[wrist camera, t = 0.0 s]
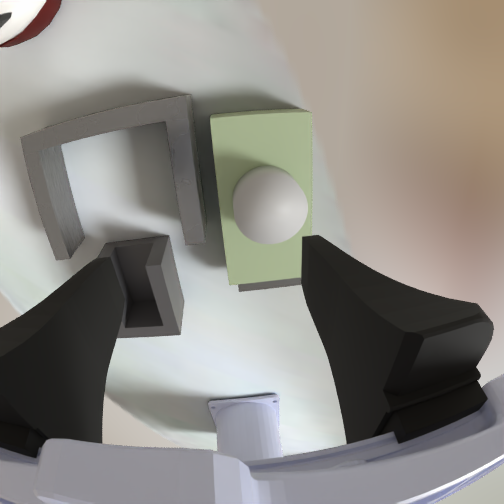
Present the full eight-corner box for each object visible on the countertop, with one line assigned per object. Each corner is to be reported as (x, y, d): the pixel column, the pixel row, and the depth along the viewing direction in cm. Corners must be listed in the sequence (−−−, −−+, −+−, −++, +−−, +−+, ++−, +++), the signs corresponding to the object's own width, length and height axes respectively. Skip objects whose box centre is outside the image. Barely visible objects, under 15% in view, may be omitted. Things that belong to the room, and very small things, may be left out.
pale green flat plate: (302, 266, 24) (316, 303, 20) (229, 274, 24) (231, 313, 20) (301, 108, 18) (322, 116, 14) (211, 114, 18) (208, 122, 14)
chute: (184, 299, 25) (180, 334, 22) (127, 304, 25) (117, 338, 21) (169, 234, 22) (160, 264, 18) (106, 242, 22) (89, 272, 18)
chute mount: (206, 222, 21) (205, 243, 19) (71, 239, 21) (56, 260, 18) (191, 94, 17) (185, 96, 14) (43, 128, 16) (20, 137, 14)
